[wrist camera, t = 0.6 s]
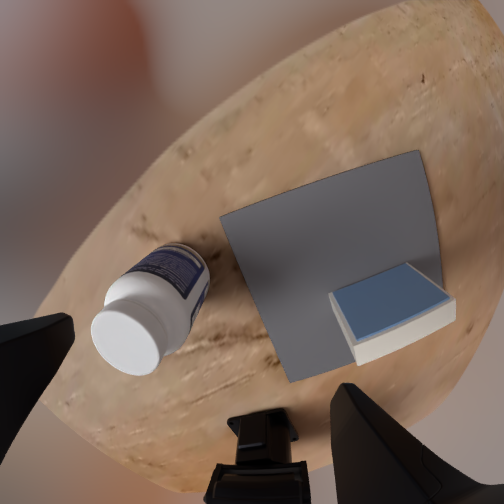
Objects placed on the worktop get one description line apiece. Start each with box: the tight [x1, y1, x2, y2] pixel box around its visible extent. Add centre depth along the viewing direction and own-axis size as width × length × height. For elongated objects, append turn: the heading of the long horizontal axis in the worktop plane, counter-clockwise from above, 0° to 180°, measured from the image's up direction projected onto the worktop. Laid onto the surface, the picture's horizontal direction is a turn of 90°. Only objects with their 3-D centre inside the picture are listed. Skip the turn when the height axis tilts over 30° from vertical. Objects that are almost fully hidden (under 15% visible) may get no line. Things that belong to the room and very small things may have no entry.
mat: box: [219, 150, 443, 383], centre depth 20 cm, size 16×16×1 cm
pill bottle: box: [91, 243, 210, 375], centre depth 16 cm, size 5×5×10 cm
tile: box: [328, 262, 456, 366], centre depth 16 cm, size 2×7×7 cm, turn 112°
